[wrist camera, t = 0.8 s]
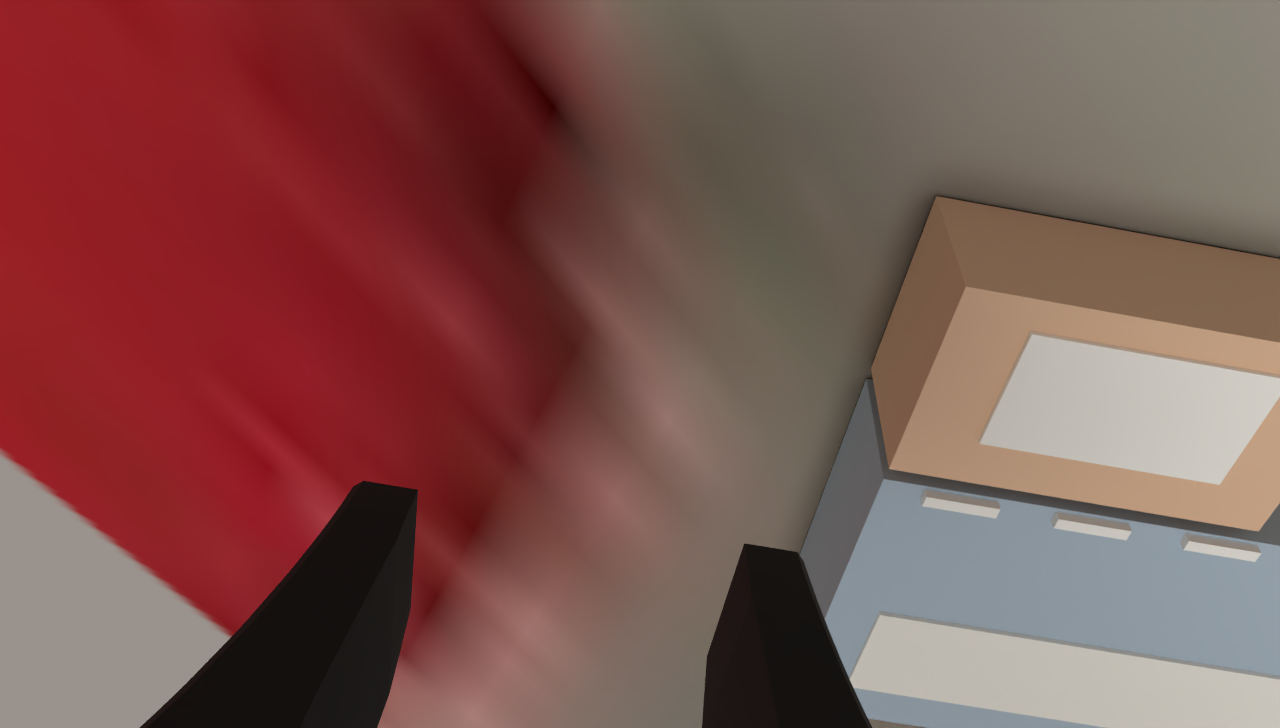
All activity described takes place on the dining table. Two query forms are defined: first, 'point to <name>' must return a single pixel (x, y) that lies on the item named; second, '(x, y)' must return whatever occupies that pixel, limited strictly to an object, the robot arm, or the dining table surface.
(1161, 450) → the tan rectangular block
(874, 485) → the pad
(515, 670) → the dining table surface
